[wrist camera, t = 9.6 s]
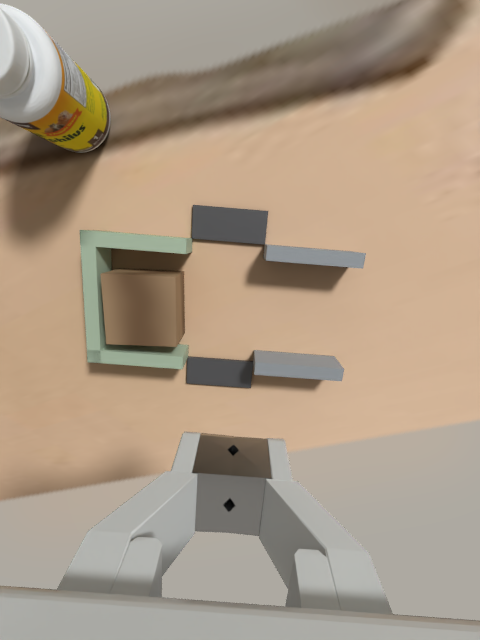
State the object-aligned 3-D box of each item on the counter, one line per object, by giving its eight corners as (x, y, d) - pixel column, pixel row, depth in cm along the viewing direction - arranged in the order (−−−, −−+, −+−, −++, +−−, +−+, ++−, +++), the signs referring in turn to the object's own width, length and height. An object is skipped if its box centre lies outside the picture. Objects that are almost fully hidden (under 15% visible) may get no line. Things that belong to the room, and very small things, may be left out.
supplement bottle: (52, 156, 25) (-68, 105, 15) (38, 78, 24) (-105, -33, 14) (118, 153, 25) (40, 101, 15) (108, 75, 24) (14, -39, 14)
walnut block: (184, 271, 28) (175, 276, 24) (184, 332, 30) (176, 346, 26) (119, 268, 28) (100, 273, 24) (123, 330, 30) (106, 344, 26)
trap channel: (358, 219, 27) (372, 217, 24) (327, 392, 31) (336, 408, 28) (95, 197, 26) (77, 192, 23) (103, 375, 31) (89, 390, 28)
